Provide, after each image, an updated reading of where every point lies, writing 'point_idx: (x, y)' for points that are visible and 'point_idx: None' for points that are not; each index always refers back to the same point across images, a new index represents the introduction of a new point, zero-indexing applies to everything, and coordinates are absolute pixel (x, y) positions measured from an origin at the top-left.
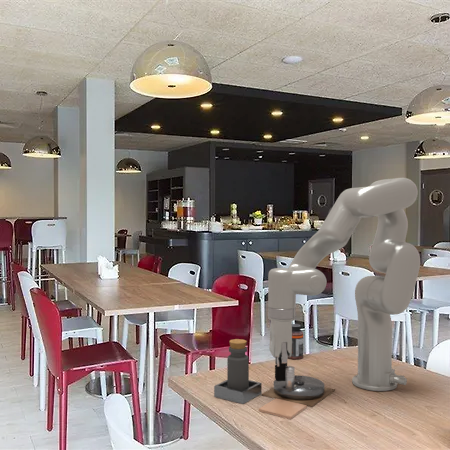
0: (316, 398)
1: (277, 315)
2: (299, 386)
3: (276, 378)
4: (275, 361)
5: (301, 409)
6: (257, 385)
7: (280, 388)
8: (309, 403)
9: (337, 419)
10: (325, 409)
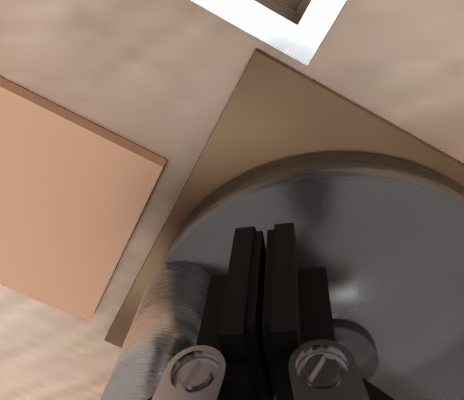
0: None
1: None
2: None
3: (235, 244)
4: (346, 369)
5: (26, 293)
6: (230, 21)
7: (198, 229)
8: None
9: (3, 396)
10: (100, 377)
